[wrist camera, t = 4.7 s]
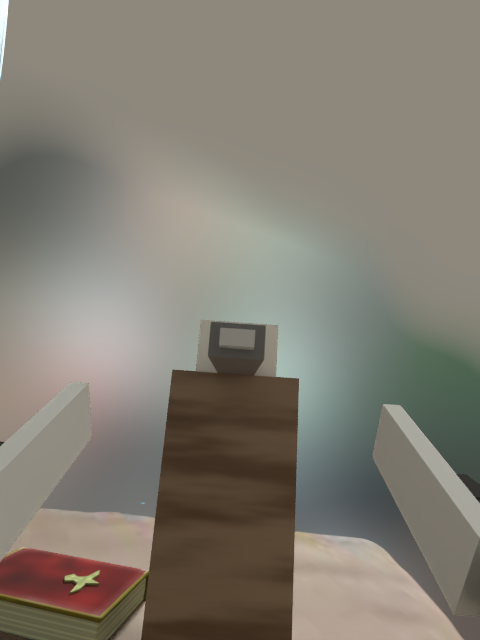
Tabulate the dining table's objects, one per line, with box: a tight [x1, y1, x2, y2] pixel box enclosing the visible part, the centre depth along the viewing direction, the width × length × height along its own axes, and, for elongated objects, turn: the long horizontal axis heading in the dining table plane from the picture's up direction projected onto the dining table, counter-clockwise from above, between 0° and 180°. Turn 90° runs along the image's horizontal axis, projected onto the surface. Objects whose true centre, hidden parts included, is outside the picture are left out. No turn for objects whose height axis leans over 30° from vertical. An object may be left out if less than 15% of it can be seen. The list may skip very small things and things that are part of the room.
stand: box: [141, 370, 299, 640], centre depth 39 cm, size 10×14×30 cm
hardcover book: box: [0, 547, 149, 640], centre depth 44 cm, size 12×21×4 cm, turn 78°
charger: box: [196, 320, 278, 377], centre depth 36 cm, size 25×9×6 cm, turn 1°
